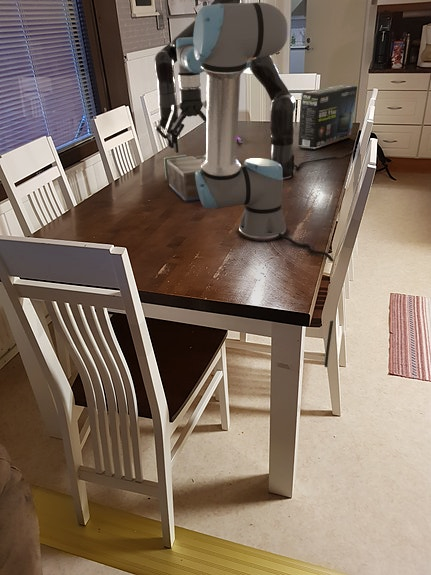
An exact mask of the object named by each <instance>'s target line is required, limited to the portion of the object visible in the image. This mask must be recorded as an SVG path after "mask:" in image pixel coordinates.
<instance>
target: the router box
mask: <svg viewBox="0 0 431 575" xmlns="http://www.w3.org/2000/svg"><path fill="white" fill-rule="evenodd" d="M357 93H358V86H356V85H350V84H339V85H338V84H337V85H334V86H328V87H324V88H318V89H314V90H309V91H304V92H301V93H300V109H299V110H300V111H299V124H298V137H297V146H298V145H302V146H307V147H317V146H320V145H323V144H325V143H328V142H331V141H333V140H336V139H338V138H341V137H344V136H347V135H351V136H352V133H353V132H352V131H353V125H354V115H355V109H356V99H357ZM311 151H313V150H312V149H311Z"/></svg>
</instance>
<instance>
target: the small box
mask: <svg viewBox="0 0 431 575" xmlns="http://www.w3.org/2000/svg"><path fill="white" fill-rule="evenodd" d="M201 164H202V162H200V161H199V160H197V159H196V157H195V156H193V155H190V156H187V157H182V158H175V159H168V160H167V166H168V177H169V180H168V186H169V188H170V189H171V190H173V192H175V193H176V194H177V196H179V197H180V198H181V199H182V200H183V201H184V202H185V203H188V202H194V201H198V200H200V198H199V194H198V190H197V186H196V180H195V173H196V172H197V171H199V170H200V171H201Z"/></svg>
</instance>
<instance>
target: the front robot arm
mask: <svg viewBox="0 0 431 575" xmlns="http://www.w3.org/2000/svg"><path fill="white" fill-rule="evenodd" d="M195 20H196V21H195ZM195 20H194V21H195V26H194V36H193V37H186V38H178V39H177V41H176V51H177V61H176V63H177V72H178V73H177V74H178V76H177V77H178V86H179V88H180V89H179V90H178V92H179V104H177V105H175V104H172V111H171V114H170V117H169V119H168V122H167V125H166V128H165V130H164V132H167V133H170V136H171V143H174V148H173V151H174V153H176V154H178V153H179V143H178V142H179V141H178V140H179V139H178V137H177V134H176V133H175V132H176V131H177V129H178V128H179V126H180V125H181V123H182V124H183V121H184V120H185V119H186V118H187V117H188V118H190V117H197V116H199V118H201V120H202V122H204V123H205V124H206V151H205V154H206V159H205V160H204V161H203V162H202V164H201V171H200V170H199V171H197V172H196V173H195V180H196V186H197V190H198V194H199V198H200V203H201V205H202V207H203V208H204V209H206V210H215V209H217V210H219V209H224V208H231V207H239V206H244V211H243V213H242V216H241V220H240V222H239V226H238V232H239V235H240V236H241V237H242V238H244V239H247V240H250V241H254V242H271V241H277V240H279V239H281V238H283V239H284V240H285V241H287V242H289V243H291V244H292V245H293V246H296V247H300V248H303V247H304V248H308V250H309V252H310V253H313V254H317V255H323V256H325V257H327V259H328V261H330V262H334V258H333V257H332V256H331V254H329V253H328V252H326V251H323V250H317V249H314V248H313V247H312V245H311V244H310V243H300V242H297V241H295V240H293V238H291V237H289V236H287V235H286V234H287V223H286V221H285V216H284V214H283V210H282V200H283V183H284V179H283V170H282V166H281V165H280V164H279V163H277V162H275V161H272V160H270V159H268V158H263V157H260V158H259V157H252V158H251V157H250V158H247V159H245V160H244V162H243V165H241V162H240V161H239V160H238V159H237V151H238V150H237V149H238V141H237V137H238V130H239V129H238V128H239V127H238V126H239V113H240V112H239V109H240V94H241V93H240V92H241V90H240V89H241V75H242V74H243V73H244V72H245V71H246V70H247V69H249V66H250V64H251V62H252V60H254V59H256V58H258V57H263V56H264V57H267V56H271V57H272V56H273V55H276V54H278V53H279V52H280V51H281V50H282V49H283V48H284V47H285V45H286V43H287V41H288V37H289V30H290V29H289V28H290V27H289V23H288V20H287V18H286V16H285V14H284V13H283V12H282V11H281V10H280V9H279V8H278V7H276V6H275V5H272V4H270V3H266V2H241V3H229V4H220V3H218V4H214V5H211V4H207V5H204V6H202V7H201V8H200V9H199V10H198V12H197V14H196V17H195ZM203 72H205V74H206V100H204V101H202V88H201V84H202V83H201V82H202V81H201V73H203ZM202 108H204V109H205V110H206V115H205V114H204V113H203V111H202ZM179 109H180V110H181V112H180V113H179V114H178V119H177V120H176V122H175V123H174V125H173V122H174V119H175V116H176V113H177V112H178V111H179ZM172 125H173V127H172ZM333 325H334V320H330V321H329V326H328V332H327V333H328V334H327V340H326V341H327V342H326V348H325V356H324V368H328V364H329V355H330V347H331V341H332V332H333Z"/></svg>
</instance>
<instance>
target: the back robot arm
mask: <svg viewBox="0 0 431 575" xmlns="http://www.w3.org/2000/svg"><path fill="white" fill-rule="evenodd" d="M218 3H220V4H229V3H242V0H213V1H212V2H211V3H210V5H214V4H218ZM195 21H196V19H195V20H193V21H192V22H191V23H190V24H189V25H187V26H186V27H185V28H184V29H183V30H182V31H180V32H179V33H178V34H177V35H175V37H174V38H173V39H172V40H171V42H168V43H167V45H166V46H164V47H163V48H161V49H160V50H159V51H158V52H157V53H156V55H155V57H154V67H155V74H156V83H157V102H158V103H157V104H158V113H159V120H158V125H156V126H154V130H156V132H157V133H158V134H159V135H160V136H161V137H162V138H163V139H164V140H166V142H167V147H168V148H169V149H174V143H171V136H170V133H167V132H165V128H166V125H167V122H168V119H169V117H170V114H171V111H172V104H175V105H178V101H177V100H178V99H177V94H176V83H175V78H174V64H175V63H177V51H176V41H177V39H178V38H186V37H193V36H194V26H195ZM248 69H249V70H250V72H251V73H252V75H253V76H254V77H255V78H256V80H257V81H258V82H259V83H260V84H261V85H262V86H263V88H264V90H265V91H266V93H267V94H268V97H269V99H270V102H271V104H270V112H269V113H270V114H269V115H270V116H269V129H270V151H269V152H270V154H269V155H270V156H269V158H270V159H269V160H272V161H275V162H277V163H279V164H280V165H281V166H282V170H283V180H288V179H291V178H293V177H294V170H296V171H299V167H300V166H301V165H304V164H308V163H313V162H318V161H325V160H326V161H327V160H333V159H337V158H336V157H337V156H331V157H323V158H316V159H311V160H306V161H303V162H302V161H301V162H300V163H298V164H296V163H295V154H294V153H293V149H294V132H295V131H294V114H295V113H294V112H295V110H296V106H297V105H296V103H297V102H296V99H295V98H294V96H293V95H292V92H290V90H289V88H288V87H287V86H286V84H285V83H284V81H283V79H282V77H281V75H280V74H279V70H278V68H277V66H276V64H275V62H274V60H273V58H272V55H271V56H267V57H264V56H263V57H258V58H256V59H254V60H252V62H251V64H250V66H249V67H248ZM178 117H179V112H178V111H177V113H176V116H175V119H174V122H173V125H174V123H175V122H176V120H177V119H178ZM173 125H172V127H173ZM184 128H185V124H184V123H183V122H182V123H181V125H180V126H179V128H178V129H177V131H176V132H175V133H176V134H177V138H178V137H179V136H180V134H181V133H182V131H183V129H184ZM162 129H163V130H164V132H165V133H164V132H163V131H162ZM354 152H355V150H354V149H353V150H352V151H350V152H348V153H345V154H346V156H345V157H347V156H349V155H352V153H354ZM296 168H297V169H296Z"/></svg>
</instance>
